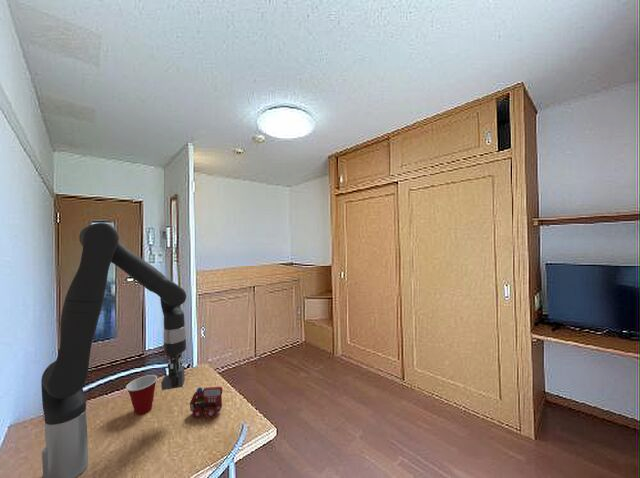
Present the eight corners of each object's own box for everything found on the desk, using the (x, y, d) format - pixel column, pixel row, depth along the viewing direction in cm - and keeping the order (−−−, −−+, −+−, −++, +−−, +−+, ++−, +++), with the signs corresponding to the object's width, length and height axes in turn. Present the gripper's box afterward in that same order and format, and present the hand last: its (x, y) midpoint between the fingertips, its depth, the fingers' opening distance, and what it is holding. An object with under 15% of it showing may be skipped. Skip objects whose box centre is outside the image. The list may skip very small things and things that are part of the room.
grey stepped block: (161, 390, 105) (161, 374, 104) (164, 383, 109) (164, 368, 109) (182, 387, 106) (181, 371, 106) (184, 380, 111) (184, 365, 111)
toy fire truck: (195, 408, 115) (194, 382, 115) (225, 407, 115) (225, 382, 115) (187, 419, 108) (186, 392, 108) (219, 418, 108) (218, 391, 108)
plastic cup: (125, 409, 115) (124, 380, 115) (156, 399, 121) (155, 372, 121) (127, 423, 106) (126, 391, 106) (160, 412, 113) (159, 382, 113)
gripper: (168, 333, 114) (169, 376, 114) (158, 347, 100) (160, 395, 100) (188, 331, 116) (190, 372, 116) (182, 344, 102) (183, 391, 102)
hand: (176, 382), depth 108 cm, fingers closed on grey stepped block, 5 cm apart
